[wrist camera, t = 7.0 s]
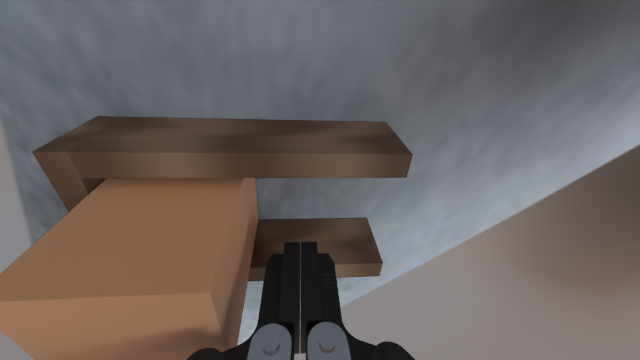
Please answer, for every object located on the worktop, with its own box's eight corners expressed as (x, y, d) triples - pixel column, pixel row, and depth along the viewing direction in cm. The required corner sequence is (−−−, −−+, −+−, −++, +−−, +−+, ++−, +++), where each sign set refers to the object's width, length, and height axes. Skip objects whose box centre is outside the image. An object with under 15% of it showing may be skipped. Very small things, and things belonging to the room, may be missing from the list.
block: (252, 149, 15) (209, 292, 7) (258, 216, 18) (232, 370, 10) (140, 148, 14) (-33, 303, 7) (165, 217, 17) (62, 383, 9)
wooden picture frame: (385, 122, 15) (412, 154, 11) (364, 230, 19) (379, 275, 16) (97, 116, 13) (32, 151, 10) (148, 235, 18) (114, 286, 14)
